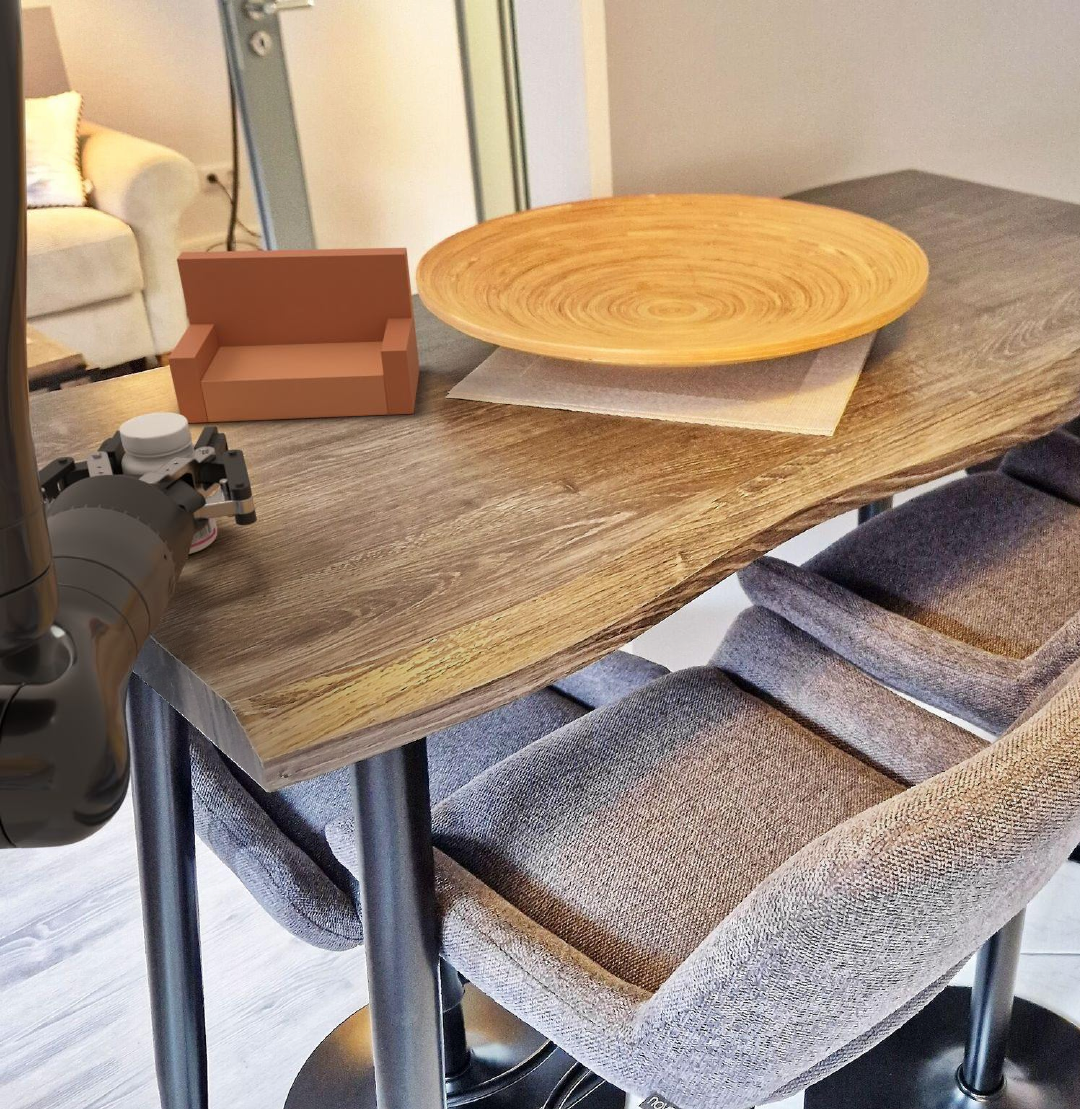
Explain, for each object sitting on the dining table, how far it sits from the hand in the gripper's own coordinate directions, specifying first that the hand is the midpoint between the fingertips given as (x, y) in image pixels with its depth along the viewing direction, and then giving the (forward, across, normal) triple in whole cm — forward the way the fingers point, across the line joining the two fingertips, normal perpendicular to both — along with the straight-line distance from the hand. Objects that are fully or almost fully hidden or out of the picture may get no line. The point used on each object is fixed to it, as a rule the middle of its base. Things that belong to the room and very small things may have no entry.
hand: (170, 442), depth 81 cm
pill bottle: (-3, 0, +6) cm, 7 cm away
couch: (+22, -5, +6) cm, 24 cm away
